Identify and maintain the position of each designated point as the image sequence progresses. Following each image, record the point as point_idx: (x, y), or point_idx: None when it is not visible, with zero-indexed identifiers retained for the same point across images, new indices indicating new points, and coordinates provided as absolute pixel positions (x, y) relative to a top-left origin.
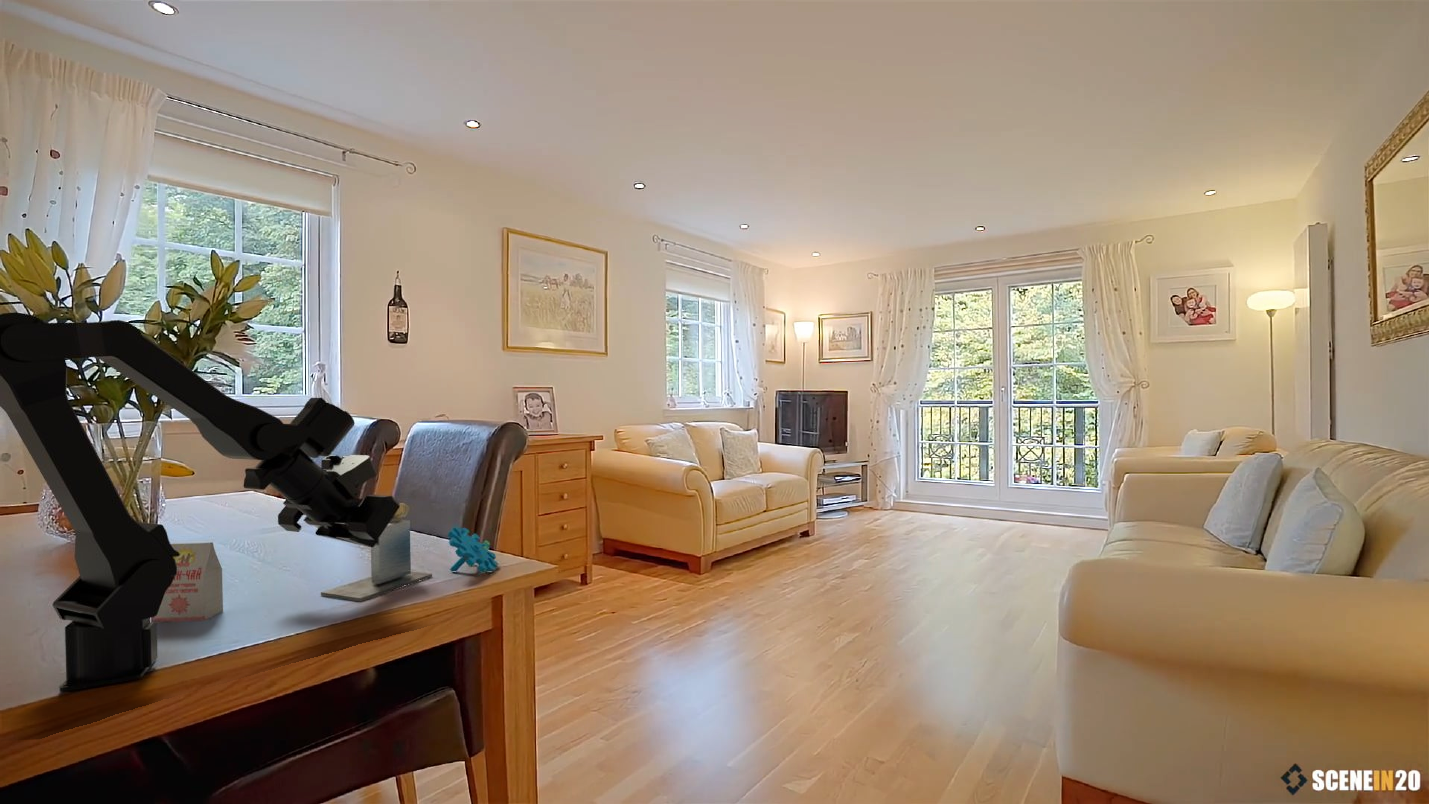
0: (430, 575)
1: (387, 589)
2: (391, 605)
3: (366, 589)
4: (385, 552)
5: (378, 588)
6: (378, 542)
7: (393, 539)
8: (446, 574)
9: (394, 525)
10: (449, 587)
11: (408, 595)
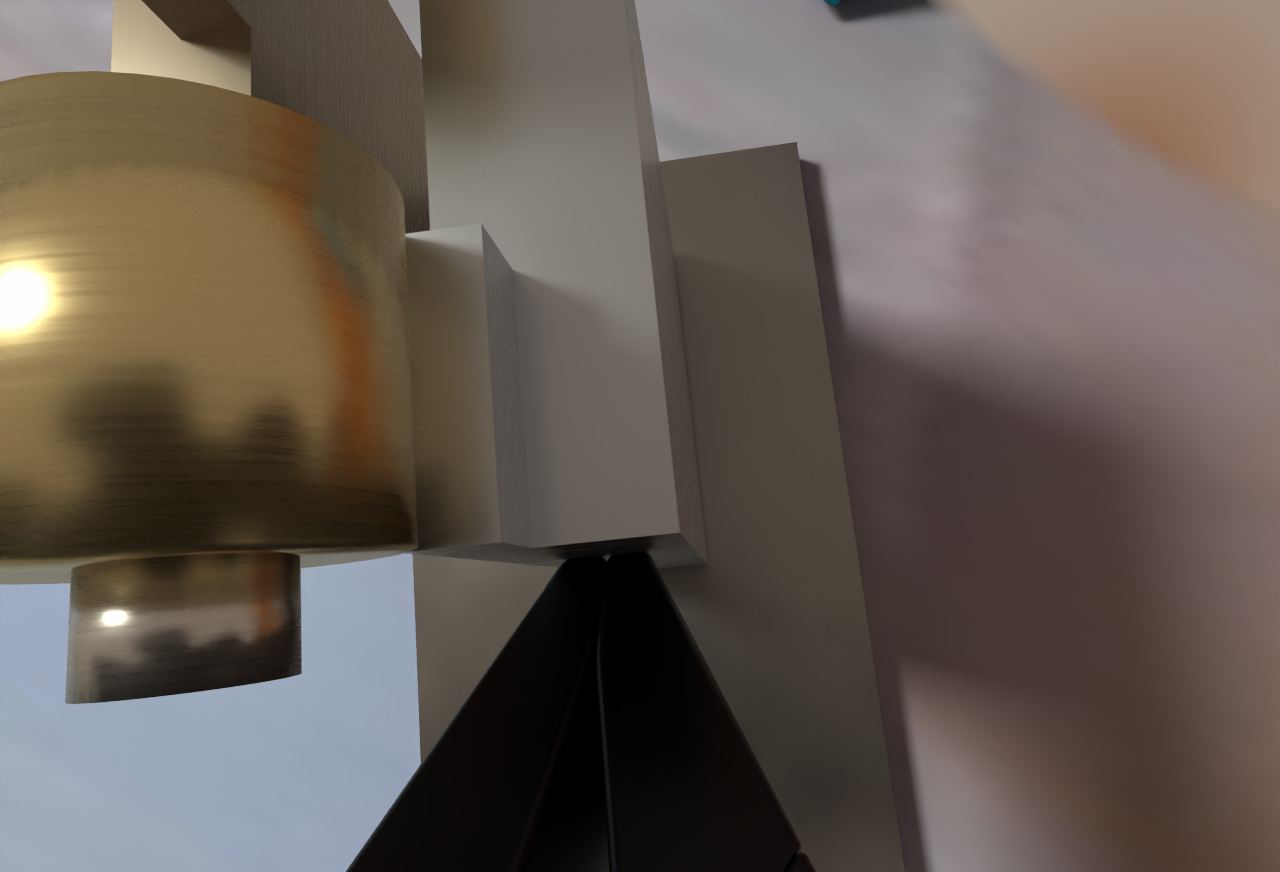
0: (798, 162)
1: (864, 601)
2: (1247, 838)
3: None
4: (688, 455)
5: (778, 626)
6: (685, 548)
7: (664, 281)
8: (830, 57)
9: (638, 143)
10: (1196, 271)
11: (1100, 575)
